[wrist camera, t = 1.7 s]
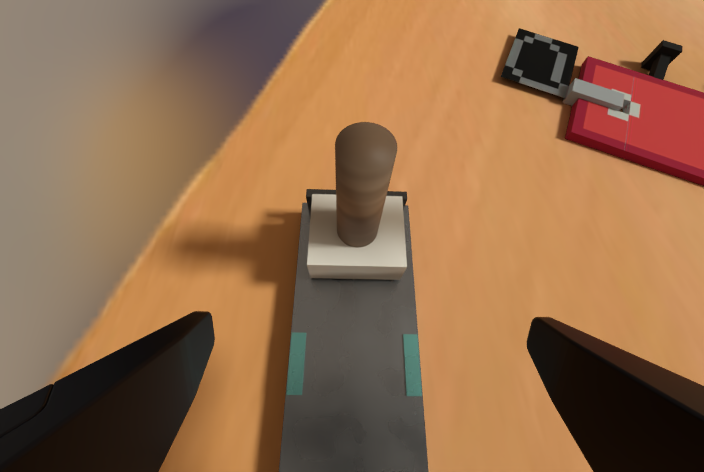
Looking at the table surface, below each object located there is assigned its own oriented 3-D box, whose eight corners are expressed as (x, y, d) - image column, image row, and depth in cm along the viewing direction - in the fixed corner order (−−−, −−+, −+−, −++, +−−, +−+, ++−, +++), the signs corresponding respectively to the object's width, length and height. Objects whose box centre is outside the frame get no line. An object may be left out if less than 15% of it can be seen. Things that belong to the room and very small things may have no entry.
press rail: (424, 494, 18) (441, 516, 15) (280, 494, 18) (268, 516, 15) (404, 215, 26) (413, 190, 23) (304, 212, 26) (299, 187, 23)
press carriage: (400, 279, 22) (444, 198, 13) (310, 278, 22) (288, 194, 12) (396, 214, 24) (431, 104, 15) (314, 212, 24) (299, 100, 15)
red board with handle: (518, 27, 37) (484, 115, 32) (531, 1, 35) (497, 91, 29) (804, 116, 33) (825, 236, 28) (843, 93, 31) (876, 221, 25)
